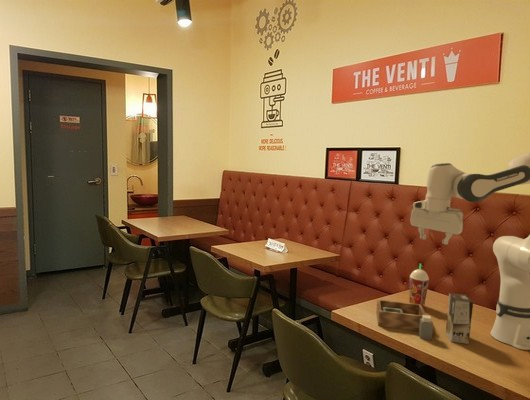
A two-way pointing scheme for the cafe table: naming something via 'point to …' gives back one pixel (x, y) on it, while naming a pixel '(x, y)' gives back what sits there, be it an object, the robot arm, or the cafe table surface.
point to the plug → (425, 327)
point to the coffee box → (459, 318)
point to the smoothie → (418, 286)
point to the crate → (399, 314)
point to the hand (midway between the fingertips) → (433, 241)
